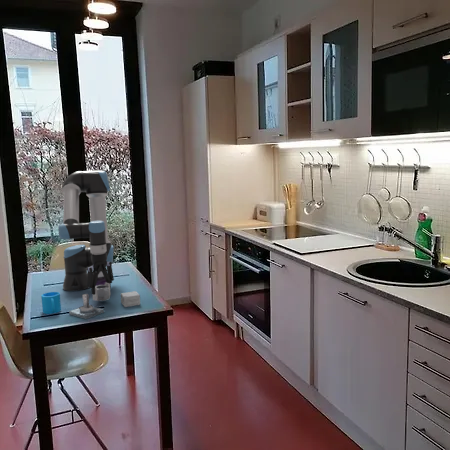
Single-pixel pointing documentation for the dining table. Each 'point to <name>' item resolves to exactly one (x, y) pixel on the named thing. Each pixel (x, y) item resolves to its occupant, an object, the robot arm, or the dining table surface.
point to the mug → (51, 302)
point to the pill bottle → (101, 279)
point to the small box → (130, 299)
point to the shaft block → (86, 309)
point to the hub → (103, 292)
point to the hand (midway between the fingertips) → (101, 297)
